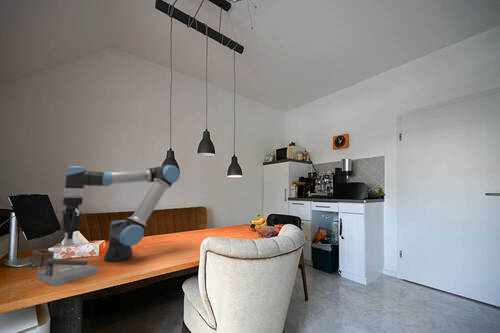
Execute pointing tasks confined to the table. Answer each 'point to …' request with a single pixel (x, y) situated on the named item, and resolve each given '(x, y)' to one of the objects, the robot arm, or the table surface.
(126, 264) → the table surface
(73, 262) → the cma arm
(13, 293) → the table surface
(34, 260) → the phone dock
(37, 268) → the smartphone
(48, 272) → the plate
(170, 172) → the robot arm
